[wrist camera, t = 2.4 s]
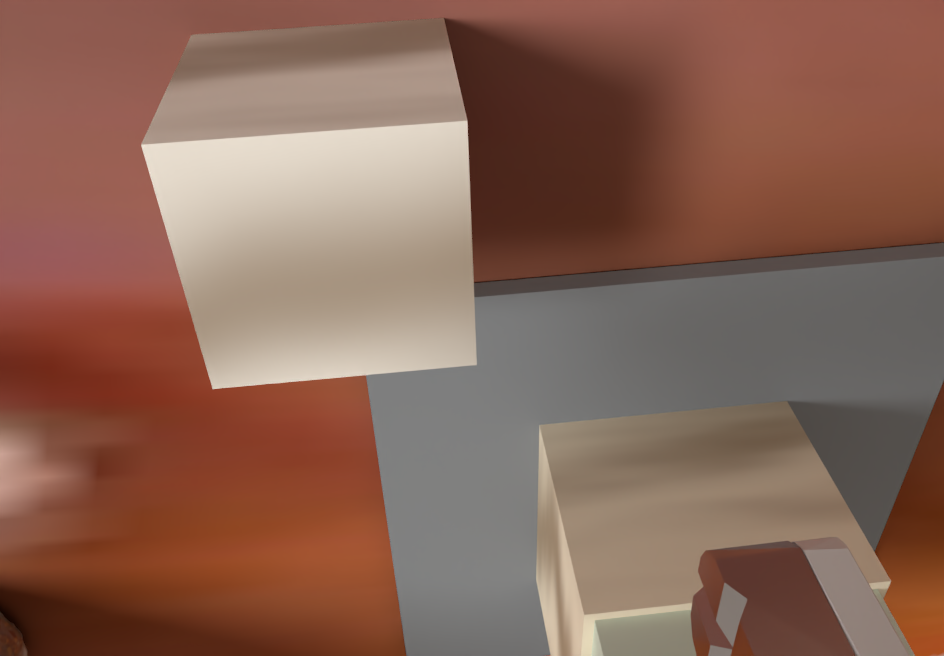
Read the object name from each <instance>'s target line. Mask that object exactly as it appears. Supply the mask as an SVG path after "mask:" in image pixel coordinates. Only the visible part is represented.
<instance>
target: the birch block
mask: <svg viewBox="0 0 944 656" xmlns="http://www.w3.org/2000/svg"><path fill="white" fill-rule="evenodd" d="M827 537H838V538H839V539H840V540H841V541H843V542H844V543H845V544H846V545H847V547H848V548H849V550H850V552H851V554H852V555H853V557H854V559H855V561H856V562H857V564H858V566H859V568H860V569H861V571H862V573H863V575H864V576H865V578H866V580H867V582H868V583H869V585H870V587H871V589H872V590H873V589H878V591H879V592H880V594H881V596H882V598H883V599H884V596H885V594H886V592H887V589H888V587H889V585H890V583H891V580H890V578H889V576H888V575H887V573H886V571H885V570H884V568H883V566H882V564H881V563H880V561H879V559H878V557H877V556H876V554H875V552H874V551H873V549H872V547H871V545H870V544H869V542H868V540H867V538H866V537H865V535H864V533H863V532H862V530H861V528H860V526H859V525H858V523H857V521H856V520H855V518H854V516H853V514H852V513H851V511H850V509H849V507H848V506H847V504H846V502H845V501H844V499H843V497H842V495H841V494H840V492H839V490H838V488H837V487H836V485H835V483H834V482H833V480H832V478H831V476H830V475H829V473H828V471H827V469H826V468H825V466H824V464H823V463H822V461H821V459H820V457H819V456H818V454H817V452H816V450H815V449H814V447H813V445H812V444H811V442H810V440H809V438H808V437H807V435H806V433H805V431H804V430H803V428H802V426H801V425H800V423H799V421H798V419H797V418H796V416H795V414H794V412H793V411H792V409H791V407H790V406H789V404H788V402H787V401H782V402H772V403H762V404H751V405H741V406H730V407H720V408H710V409H699V410H689V411H679V412H668V413H658V414H648V415H637V416H627V417H617V418H606V419H596V420H586V421H575V422H565V423H555V424H544V425H539V469H538V517H537V565H536V582H537V587H538V592H539V597H540V603H541V608H542V613H543V618H544V623H545V629H546V634H547V639H548V644H549V649H550V655H551V656H591V655H592V644H593V633H594V623H595V620H602V619H611V618H620V617H629V616H638V615H647V614H656V613H665V612H674V611H683V610H691V608H692V601H693V596H694V595H695V594H696V593H697V592H698V591H699V590H700V589H701V588H702V587H703V584H702V581H701V579H700V576H699V573H698V567H699V563H700V558H701V556H702V554H703V553H704V552H705V551H706V550H714V549H722V548H730V547H739V546H747V545H756V544H764V543H773V542H781V541H790V542H794V541H802V540H810V539H819V538H827Z"/></svg>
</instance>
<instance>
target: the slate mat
mask: <svg viewBox="0 0 944 656" xmlns="http://www.w3.org/2000/svg"><path fill="white" fill-rule="evenodd" d="M474 304H475V330H476V356H477V365H472V366H460V367H449V368H438V369H427V370H416V371H405V372H394V373H383V374H372V375H366V378H367V385H368V392H369V399H370V406H371V413H372V419H373V426H374V433H375V440H376V447H377V454H378V461H379V468H380V475H381V482H382V489H383V496H384V503H385V510H386V517H387V524H388V531H389V538H390V545H391V552H392V559H393V565H394V572H395V579H396V586H397V593H398V600H399V607H400V614H401V621H402V628H403V635H404V642H405V649H406V656H547V655H550V649H549V644H548V639H547V634H546V629H545V623H544V618H543V613H542V608H541V603H540V597H539V592H538V587H537V582H536V565H537V517H538V469H539V425H544V424H555V423H565V422H575V421H586V420H596V419H606V418H617V417H627V416H637V415H648V414H658V413H668V412H679V411H689V410H699V409H710V408H720V407H730V406H741V405H751V404H762V403H772V402H782V401H787V402H788V404H789V406H790V407H791V409H792V411H793V412H794V414H795V416H796V418H797V419H798V421H799V423H800V425H801V426H802V428H803V430H804V431H805V433H806V435H807V437H808V438H809V440H810V442H811V444H812V445H813V447H814V449H815V450H816V452H817V454H818V456H819V457H820V459H821V461H822V463H823V464H824V466H825V468H826V469H827V471H828V473H829V475H830V476H831V478H832V480H833V482H834V483H835V485H836V487H837V488H838V490H839V492H840V494H841V495H842V497H843V499H844V501H845V502H846V504H847V506H848V507H849V509H850V511H851V513H852V514H853V516H854V518H855V520H856V521H857V523H858V525H859V526H860V528H861V530H862V532H863V533H864V535H865V537H866V538H867V540H868V542H869V544H870V545H871V547H872V549H873V551H874V552H875V549H876V547H877V544H878V542H879V540H880V537H881V535H882V532H883V530H884V527H885V525H886V522H887V520H888V517H889V515H890V512H891V510H892V507H893V505H894V502H895V500H896V497H897V495H898V492H899V490H900V488H901V485H902V483H903V480H904V478H905V475H906V473H907V470H908V468H909V465H910V463H911V460H912V458H913V455H914V453H915V450H916V448H917V445H918V443H919V440H920V438H921V436H922V433H923V431H924V428H925V426H926V423H927V421H928V418H929V416H930V413H931V411H932V408H933V406H934V403H935V401H936V398H937V396H938V393H939V391H940V388H941V386H942V384H943V381H944V243H935V244H923V245H912V246H900V247H888V248H877V249H865V250H854V251H842V252H830V253H819V254H807V255H796V256H784V257H772V258H761V259H749V260H737V261H726V262H714V263H703V264H691V265H679V266H668V267H656V268H645V269H633V270H621V271H610V272H598V273H586V274H575V275H563V276H552V277H540V278H528V279H517V280H505V281H494V282H482V283H474Z"/></svg>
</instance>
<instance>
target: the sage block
mask: <svg viewBox="0 0 944 656" xmlns="http://www.w3.org/2000/svg"><path fill="white" fill-rule="evenodd" d="M873 592H874V594H875V596H876V597H877V599H878V601H879V603H880V604H881V606H882V608H883V610H884V611H885V613H886V615H887V617H888V618H889V620H890V622H891V624H892V625H893V627H894V629H895V631H896V632H897V634H898V636H899V638H900V639H901V641H902V643H903V644H904V646H905V648H906V650H907V651H908V653H909V655H910V656H915V655H914V653H913V651H912V650H911V648H910V646H909V644H908V642H907V641H906V639H905V637H904V635H903V634H902V632H901V630H900V628H899V626H898V625H897V623H896V621H895V619H894V617H893V616H892V614H891V612H890V610H889V609H888V607H887V605H886V603H885V601H884V600H883V598H882V596H881V594H880V592H879V591H878V589H873ZM591 656H696V651H695V647H694V643H693V638H692V626H691V610H683V611H674V612H665V613H656V614H647V615H638V616H629V617H620V618H611V619H602V620H595V623H594V633H593V644H592V655H591Z"/></svg>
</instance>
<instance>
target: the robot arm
mask: <svg viewBox="0 0 944 656" xmlns="http://www.w3.org/2000/svg"><path fill="white" fill-rule="evenodd" d="M698 573H699V576H700V579H701V581H702V584H703V587H702V588H701V589H700V590H699V591H698V592H697V593H696V594H695V595H694V596H693V601H692V608H691V626H692V638H693V643H694V647H695V651H696V656H910V655H909V653H908V651H907V650H906V648H905V646H904V644H903V643H902V641H901V639H900V638H899V636H898V634H897V632H896V631H895V629H894V627H893V625H892V624H891V622H890V620H889V618H888V617H887V615H886V613H885V611H884V610H883V608H882V606H881V604H880V603H879V601H878V599H877V597H876V596H875V594H874V592H873V590H872V589H871V587H870V585H869V583H868V582H867V580H866V578H865V576H864V575H863V573H862V571H861V569H860V568H859V566H858V564H857V562H856V561H855V559H854V557H853V555H852V554H851V552H850V550H849V548H848V547H847V545H846V544H845V543H844V542H843V541H841V540H840V539H839V538H838V537H827V538H819V539H810V540H802V541H794V542H790V541H781V542H773V543H764V544H756V545H747V546H739V547H730V548H722V549H714V550H706V551H705V552H704V553H703V554H702V556H701V558H700V563H699V567H698Z"/></svg>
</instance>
